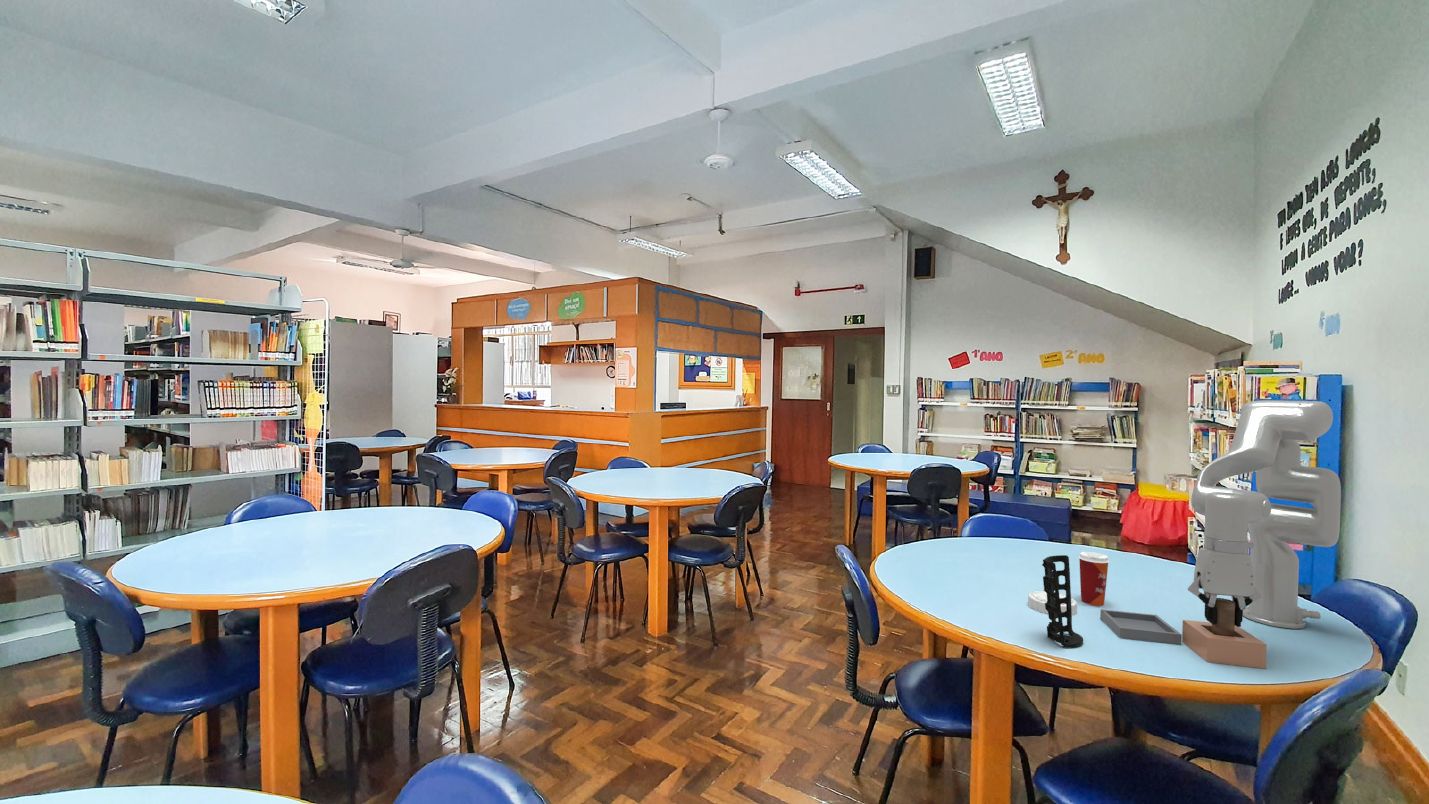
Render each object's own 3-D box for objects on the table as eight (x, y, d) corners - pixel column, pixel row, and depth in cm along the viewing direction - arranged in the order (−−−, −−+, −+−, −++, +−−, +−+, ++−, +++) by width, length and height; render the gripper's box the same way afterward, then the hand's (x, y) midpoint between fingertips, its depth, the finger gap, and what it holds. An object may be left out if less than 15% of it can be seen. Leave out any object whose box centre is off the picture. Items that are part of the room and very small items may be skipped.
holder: (1083, 651, 135) (1076, 565, 136) (1046, 646, 139) (1039, 562, 140) (1083, 635, 144) (1076, 554, 145) (1048, 631, 148) (1041, 553, 149)
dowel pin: (1227, 648, 137) (1228, 598, 137) (1237, 656, 133) (1239, 604, 133) (1207, 646, 138) (1208, 596, 138) (1217, 654, 134) (1218, 602, 134)
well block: (1235, 647, 139) (1236, 625, 139) (1265, 668, 128) (1266, 644, 128) (1182, 641, 142) (1182, 619, 142) (1206, 661, 131) (1207, 637, 131)
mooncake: (1081, 620, 156) (1082, 606, 156) (1031, 613, 160) (1032, 600, 160) (1071, 604, 167) (1071, 592, 167) (1024, 599, 171) (1025, 587, 171)
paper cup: (1107, 609, 163) (1109, 560, 163) (1075, 603, 168) (1077, 555, 168) (1109, 601, 169) (1110, 554, 169) (1078, 595, 174) (1079, 549, 174)
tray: (1156, 624, 153) (1156, 615, 153) (1181, 644, 140) (1181, 634, 140) (1100, 618, 156) (1100, 609, 156) (1119, 637, 144) (1120, 627, 144)
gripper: (1258, 544, 136) (1256, 621, 137) (1175, 539, 141) (1173, 613, 141) (1279, 553, 129) (1277, 634, 129) (1191, 547, 134) (1189, 625, 134)
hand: (1223, 622), depth 135 cm, fingers closed on dowel pin, 4 cm apart
